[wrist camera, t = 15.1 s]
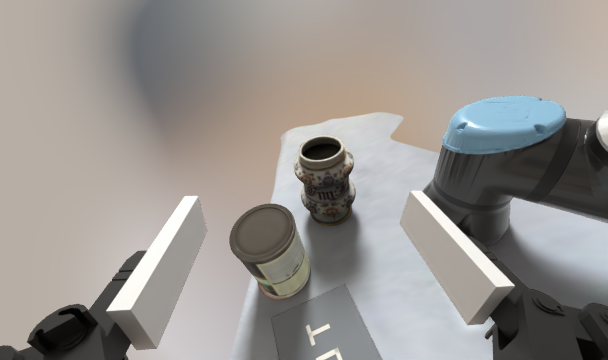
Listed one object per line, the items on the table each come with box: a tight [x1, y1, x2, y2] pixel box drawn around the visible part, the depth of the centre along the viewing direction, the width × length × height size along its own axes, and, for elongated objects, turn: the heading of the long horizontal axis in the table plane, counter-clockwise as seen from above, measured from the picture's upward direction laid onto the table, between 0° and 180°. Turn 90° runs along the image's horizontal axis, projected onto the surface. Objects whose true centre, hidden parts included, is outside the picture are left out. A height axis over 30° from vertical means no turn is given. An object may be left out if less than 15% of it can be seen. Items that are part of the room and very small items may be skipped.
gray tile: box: [271, 284, 382, 360], centre depth 33 cm, size 14×14×1 cm
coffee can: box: [230, 204, 310, 298], centre depth 38 cm, size 10×10×14 cm
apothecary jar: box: [294, 135, 356, 226], centre depth 46 cm, size 12×12×18 cm
